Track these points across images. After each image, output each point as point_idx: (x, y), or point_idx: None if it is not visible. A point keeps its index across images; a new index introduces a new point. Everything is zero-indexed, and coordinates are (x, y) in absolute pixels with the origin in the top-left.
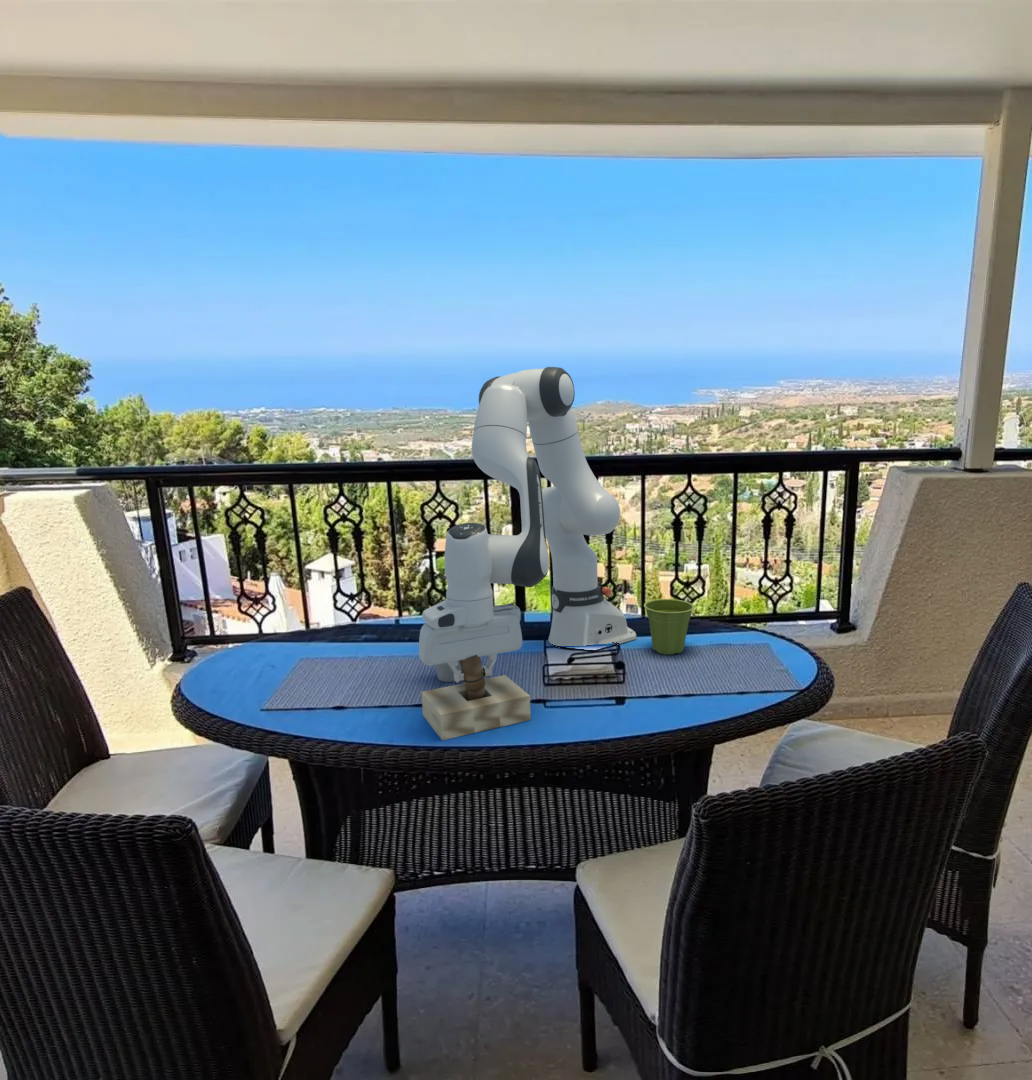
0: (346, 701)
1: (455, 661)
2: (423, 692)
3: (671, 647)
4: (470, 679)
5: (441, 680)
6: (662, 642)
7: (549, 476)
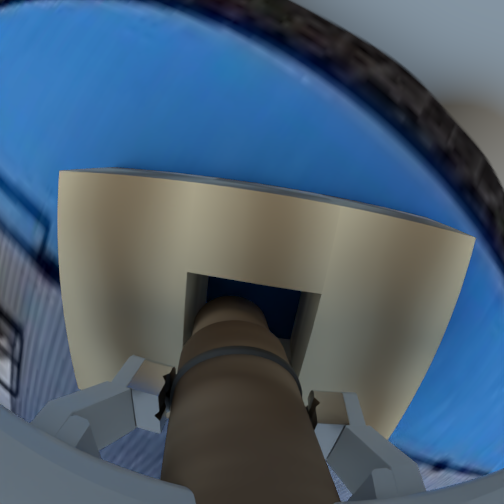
0: None
1: (395, 496)
2: (386, 435)
3: None
4: (284, 374)
5: None
6: None
7: None
